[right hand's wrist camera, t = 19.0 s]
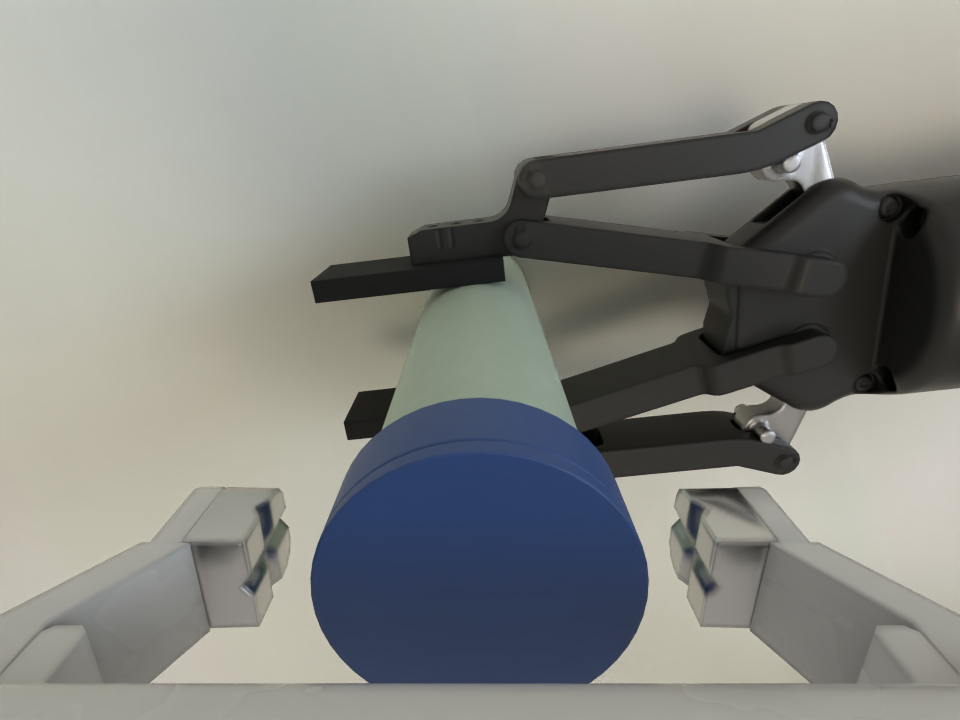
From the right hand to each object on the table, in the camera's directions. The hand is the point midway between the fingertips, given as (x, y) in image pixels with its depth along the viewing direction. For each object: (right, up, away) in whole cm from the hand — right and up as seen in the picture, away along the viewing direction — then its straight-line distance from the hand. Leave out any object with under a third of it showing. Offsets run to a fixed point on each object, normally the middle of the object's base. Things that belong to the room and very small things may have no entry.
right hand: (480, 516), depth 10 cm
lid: (0, -1, -2) cm, 2 cm away
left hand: (-5, +3, +10) cm, 12 cm away
